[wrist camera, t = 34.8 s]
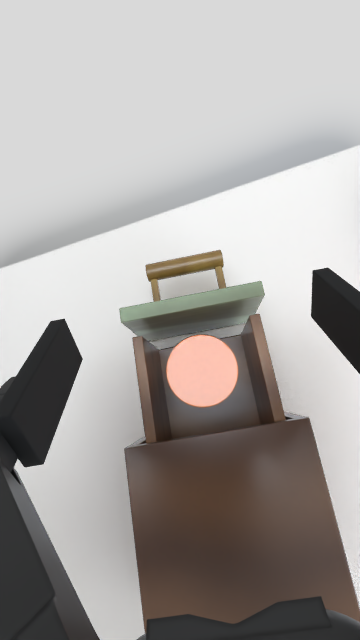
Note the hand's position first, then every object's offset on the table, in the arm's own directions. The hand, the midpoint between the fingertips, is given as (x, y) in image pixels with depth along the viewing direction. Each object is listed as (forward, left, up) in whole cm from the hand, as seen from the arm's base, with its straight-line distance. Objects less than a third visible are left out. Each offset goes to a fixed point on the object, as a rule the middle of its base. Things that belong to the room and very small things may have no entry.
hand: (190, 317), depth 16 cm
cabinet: (0, -14, -17) cm, 22 cm away
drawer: (0, -1, -16) cm, 16 cm away
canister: (0, -2, -15) cm, 15 cm away
